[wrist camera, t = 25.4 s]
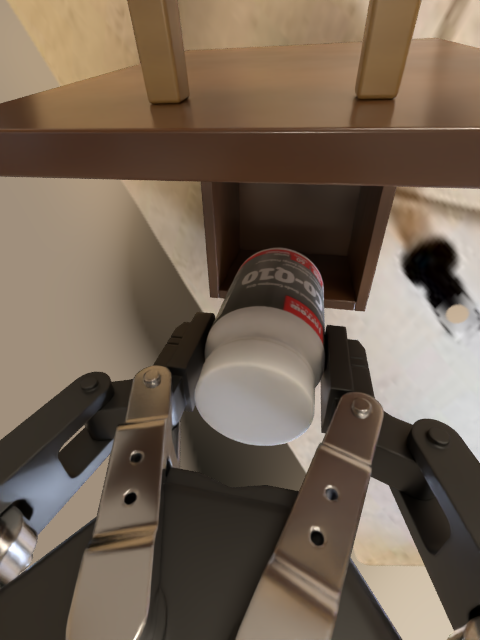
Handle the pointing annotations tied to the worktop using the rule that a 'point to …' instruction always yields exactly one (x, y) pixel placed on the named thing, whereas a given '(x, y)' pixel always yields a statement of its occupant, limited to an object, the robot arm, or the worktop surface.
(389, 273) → the worktop surface
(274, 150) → the lid
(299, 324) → the pill bottle
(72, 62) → the worktop surface
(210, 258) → the chest
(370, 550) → the worktop surface
